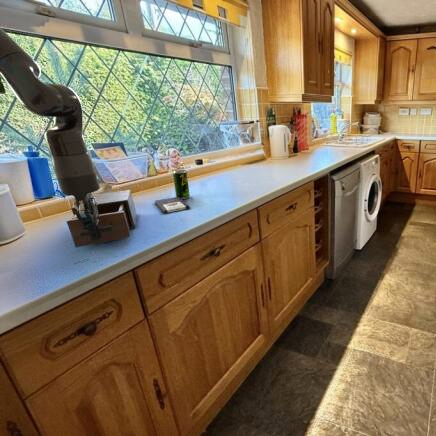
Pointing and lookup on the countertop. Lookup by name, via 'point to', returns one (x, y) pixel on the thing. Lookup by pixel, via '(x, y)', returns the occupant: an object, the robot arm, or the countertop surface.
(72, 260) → the countertop surface
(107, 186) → the chocolate bunny
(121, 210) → the drawer
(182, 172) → the beer can
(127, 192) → the cabinet
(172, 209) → the chocolate bar
